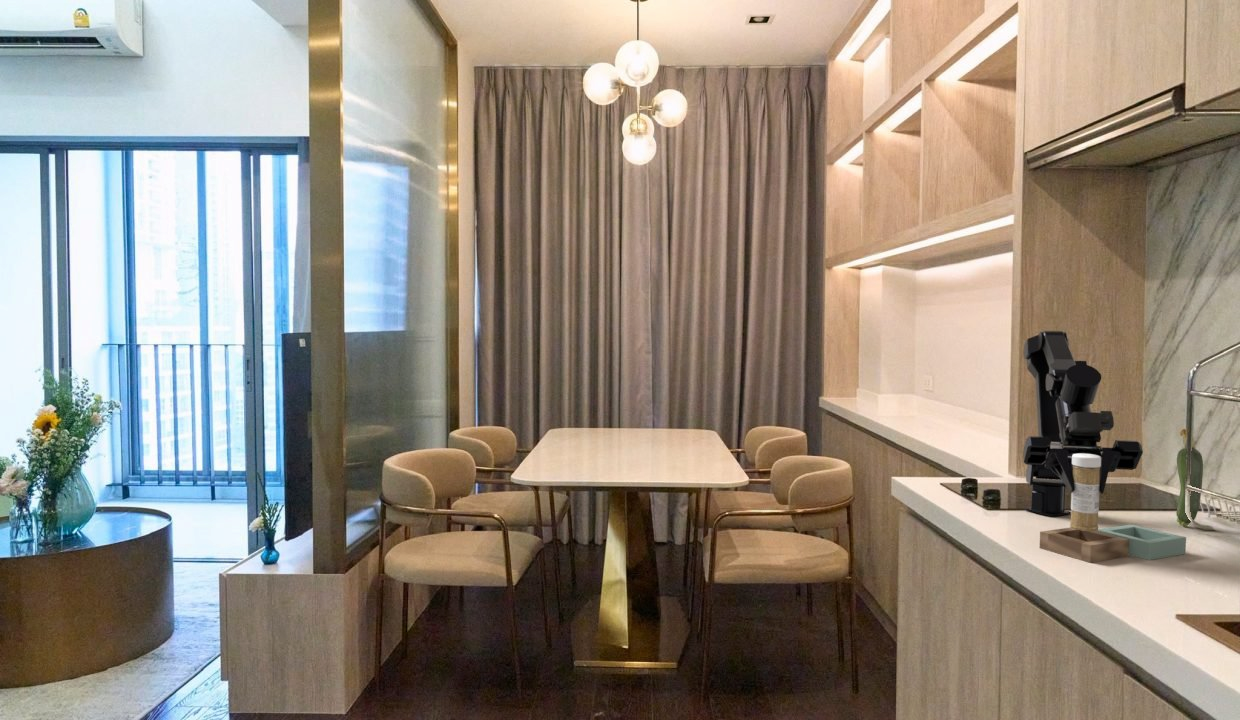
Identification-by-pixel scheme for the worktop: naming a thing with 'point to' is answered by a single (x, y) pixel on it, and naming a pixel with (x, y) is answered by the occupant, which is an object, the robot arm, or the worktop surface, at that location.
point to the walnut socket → (1084, 544)
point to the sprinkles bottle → (1085, 492)
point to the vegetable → (1194, 480)
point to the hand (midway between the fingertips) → (1087, 491)
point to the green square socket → (1149, 541)
